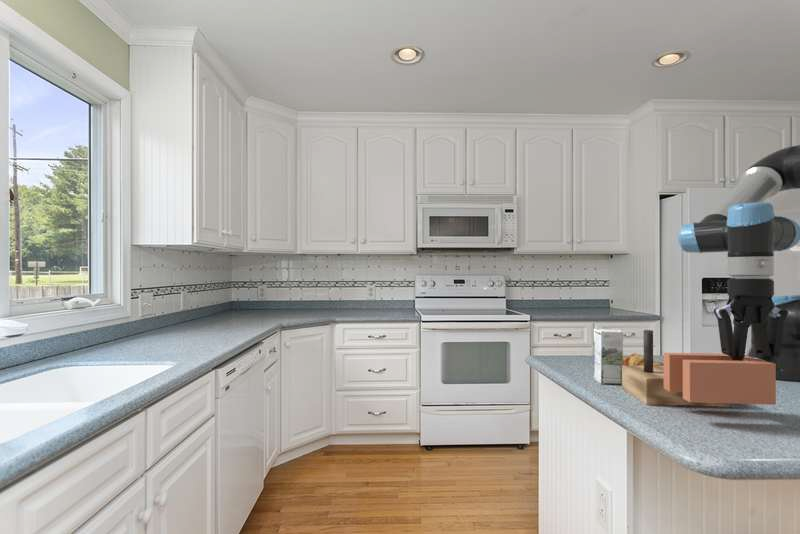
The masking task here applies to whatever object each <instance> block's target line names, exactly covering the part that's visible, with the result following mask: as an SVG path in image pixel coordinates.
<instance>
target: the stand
mask: <svg viewBox="0 0 800 534" xmlns="http://www.w3.org/2000/svg"><path fill="white" fill-rule="evenodd" d="M643 356H644V366H625V365H622V384H621V389H622V390H623V391H625V392H626V393H627V394H629V395H631V396H633V397H634V398H635V399H637V400H638V401H640V402H642V403H643V404H644V405H646V406H647V405H648V406H653V405H654V406H677V405H690V406H689V407H692V406H693V407H716V406H718V407H723V408H725V407H726V408H731V406H732V405H731V404H732V403H698V402H688V401H687V400H685V399H683V392H670V391H668V390H666V389H664V366H653V361H654V330H651V329H644V330H643ZM718 407H717V408H718Z"/></svg>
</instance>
